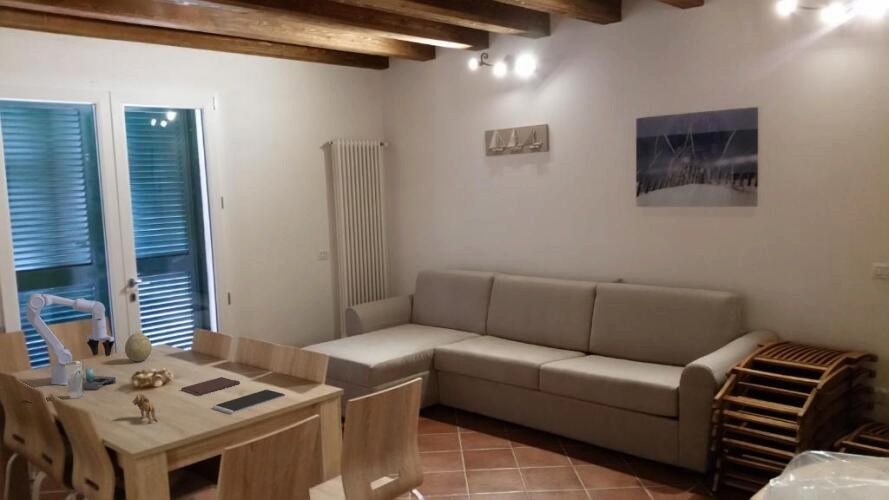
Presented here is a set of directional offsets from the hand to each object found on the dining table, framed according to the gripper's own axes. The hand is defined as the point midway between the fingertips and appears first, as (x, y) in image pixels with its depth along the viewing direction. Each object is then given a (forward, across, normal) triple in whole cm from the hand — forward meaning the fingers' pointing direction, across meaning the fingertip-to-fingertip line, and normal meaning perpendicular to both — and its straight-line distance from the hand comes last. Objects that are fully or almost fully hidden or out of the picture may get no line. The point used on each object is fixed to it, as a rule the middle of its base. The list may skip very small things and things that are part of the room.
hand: (101, 355), depth 321 cm
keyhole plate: (+10, -8, +13) cm, 19 cm away
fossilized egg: (+11, +5, -28) cm, 30 cm away
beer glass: (+11, -14, +28) cm, 33 cm away
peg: (+10, -6, +13) cm, 17 cm away
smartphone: (+11, -95, +17) cm, 97 cm away
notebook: (+11, -64, +3) cm, 65 cm away
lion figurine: (+11, -67, +44) cm, 81 cm away
